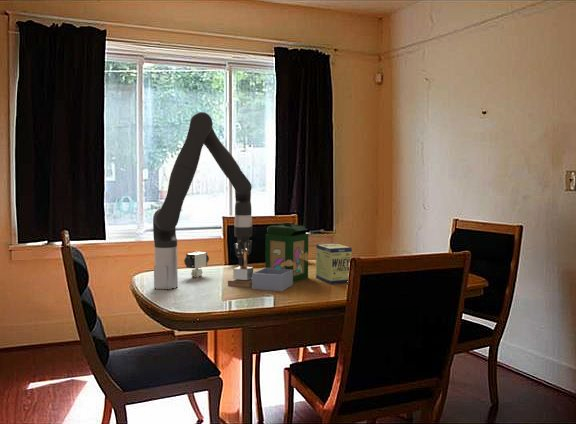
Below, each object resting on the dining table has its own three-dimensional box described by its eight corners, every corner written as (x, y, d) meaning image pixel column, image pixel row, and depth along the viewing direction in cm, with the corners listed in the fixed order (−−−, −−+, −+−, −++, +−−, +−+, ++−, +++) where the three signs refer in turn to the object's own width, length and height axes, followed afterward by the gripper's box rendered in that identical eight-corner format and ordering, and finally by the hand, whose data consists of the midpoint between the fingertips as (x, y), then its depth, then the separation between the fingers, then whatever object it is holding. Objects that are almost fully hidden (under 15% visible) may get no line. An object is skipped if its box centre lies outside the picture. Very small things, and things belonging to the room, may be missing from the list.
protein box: (330, 284, 243) (330, 248, 242) (315, 277, 257) (315, 244, 256) (352, 282, 247) (352, 247, 245) (335, 276, 261) (336, 243, 260)
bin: (281, 291, 229) (281, 275, 228) (252, 288, 233) (252, 273, 233) (292, 284, 241) (292, 269, 241) (264, 282, 246) (264, 267, 245)
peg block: (247, 280, 239) (247, 253, 238) (233, 279, 241) (233, 252, 240) (253, 277, 245) (253, 251, 244) (239, 276, 247) (239, 250, 246)
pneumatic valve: (209, 275, 262) (209, 249, 261) (191, 279, 252) (191, 252, 251) (200, 274, 265) (200, 248, 264) (182, 278, 256) (182, 251, 255)
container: (292, 283, 244) (292, 226, 242) (260, 278, 255) (260, 223, 253) (311, 278, 256) (311, 223, 254) (280, 273, 267) (280, 221, 265)
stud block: (249, 287, 237) (249, 272, 236) (227, 285, 240) (227, 271, 240) (258, 282, 246) (258, 268, 245) (237, 280, 249) (237, 267, 249)
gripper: (244, 227, 233) (244, 268, 234) (257, 224, 246) (257, 263, 248) (228, 226, 236) (228, 267, 237) (242, 223, 249) (242, 262, 250)
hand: (243, 265), depth 242 cm, fingers open, 3 cm apart
